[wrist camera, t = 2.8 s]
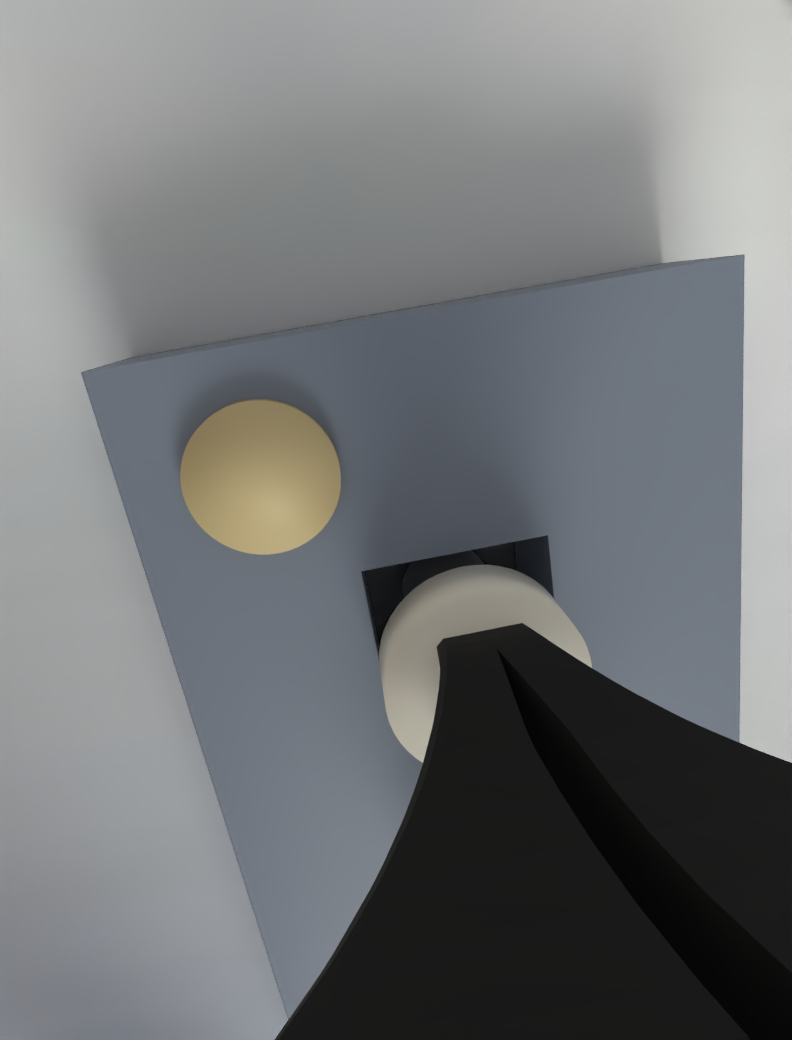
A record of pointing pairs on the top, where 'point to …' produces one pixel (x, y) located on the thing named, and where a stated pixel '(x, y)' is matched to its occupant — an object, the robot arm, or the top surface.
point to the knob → (455, 631)
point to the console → (425, 535)
